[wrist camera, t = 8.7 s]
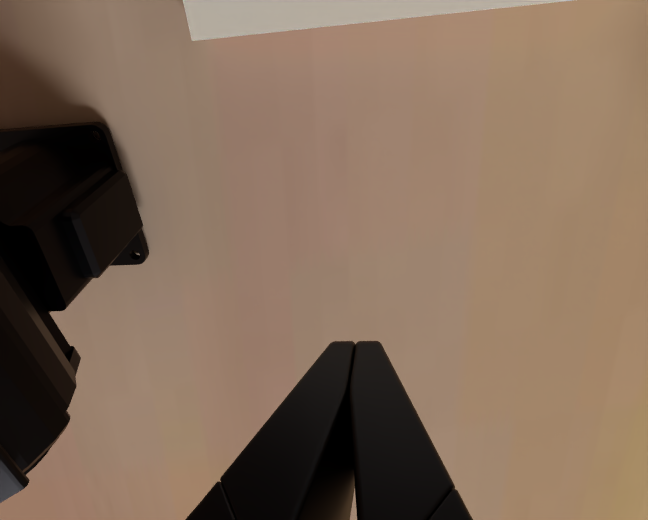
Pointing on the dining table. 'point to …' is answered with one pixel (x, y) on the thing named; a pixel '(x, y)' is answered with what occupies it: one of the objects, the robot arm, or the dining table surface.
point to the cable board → (317, 13)
